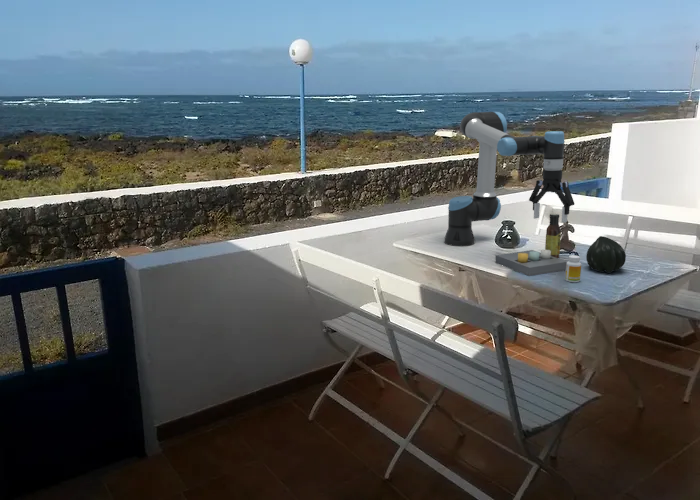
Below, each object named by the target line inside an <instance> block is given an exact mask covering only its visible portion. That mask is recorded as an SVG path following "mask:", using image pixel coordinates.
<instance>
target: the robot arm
mask: <svg viewBox="0 0 700 500" xmlns="http://www.w3.org/2000/svg"><path fill="white" fill-rule="evenodd" d="M507 122H508V121H507V119H506V117H505V115H504V114H503V113H502V112H499V111H481V112H480V111H479V112H477V111H476V112H475V111H474V112H469V113H467V114H466V115H465V116H464V117H463V118H462V119H461V121H460V124H459V128H460V132H461V134H462V135H463V136H464V137H466V138H469V139H471V140H475V139H476V141H477V142H478V143H479V146H478V147H479V148H478V149H479V150H478V162H477V177H476V179H477V180H476V191H475V192H474V193H473V195H472V196H473V197H472V196H470V195H464V196H463V195H459V196H455V197H452V198H451V199H449V202H448V209H447V210H448V219H447V220H448V223H447V224H448V225H447V226H448V227H447V230H446V232H445V237H444V243H445V244H446V243H447V244H446V245H449V244H452V245H451V246H454V245H462V246H461V247H464V246H465V247H466V246H472V245H474V244H475V241H476V240H475V239H476V238H475V236H474V232H473V229H472V223H473V222H482V221H491V220H495V219H496V218H497V217H498V216H499V215H500V212H501V208H502V204H501V200H500V198H499V197H498V194H497V193H496V192H495V182H496V181H495V180H496V167H497V152H498V154H499V155H500V156H503V157H504V156H505V157H511V156H524V155H525V156H527V155H543V171H542V179H543V180H542V179H538V180H536V181H535V186H534V188H533V191H532V193H531V194H530V197H529V198H528V201H529V202H531V203H532V211H533V219H535V220H536V219H540V211H541V210H540V208H541V206H540V205H541V203H540V201H541V200H542V198H543V197H544V196H545V194H547V193H554V194H556V195H557V197H558V199H559V200H560V201H561V204H562V205H563V206H562V209H561V223H562V224H563V223H567V222H568V215H569V214H570V209H571V208H570V207H572V206H575V201H574V198H573V196H572V193H571V189H570V187H569V185H570V184H569V181H565V182H562V178H563V170H562V169H563V168H564V150H565V143H566V142H565V132H564V131H562V130H557V131H556V130H555V131H554V130H553V131H546V132H545V133H544V135H543V136H542V135H541V136H540V135H532V136H513V135H511V134H508V133H506V132H507V129H508V123H507ZM542 186H543V187H542Z"/></svg>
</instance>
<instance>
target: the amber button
mask: <svg viewBox="0 0 700 500" xmlns="http://www.w3.org/2000/svg"><path fill="white" fill-rule="evenodd" d="M518 262H520V263H527V262H528V254H527V253H518Z"/></svg>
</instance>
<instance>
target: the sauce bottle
mask: <svg viewBox="0 0 700 500" xmlns="http://www.w3.org/2000/svg"><path fill="white" fill-rule="evenodd" d="M559 219H560V214H559V213H549V222H548V223H549V224H548V226H547V227H546V230H545V231H546V232H545V233H546V234H545V246H544V247H545V248H544V250H550V251H551V256H552V257H556V258H559V259H560V251H561V237H562V231H561V228H560V223H559V221H560V220H559Z"/></svg>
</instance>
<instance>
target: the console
mask: <svg viewBox="0 0 700 500" xmlns="http://www.w3.org/2000/svg"><path fill="white" fill-rule="evenodd" d="M530 251H535V250H534V249H529V250H522V251H515V252H508V253H502V254H501V253H500V254H496V255H495V258H494V259H495V261H494V262H495V264H497V265H500V266H502V265H503V267H505V268H508V269H510V270H513V271H516V272H518V273H521V274H522V275H526V276H528V277H531V276H537V275H543V274H549V273H555V272H561V271H566V263H567V262H568V261H569V260H564V259H561V258H560V257H559V258H556V257H552V256H550V259H547V260H544V259H541V258H540V256H541V252H540V254H539V261H534V262H533V261H531V260H529V254H530ZM518 253H527V254H528V262H527V263H520V262H518Z"/></svg>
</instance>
